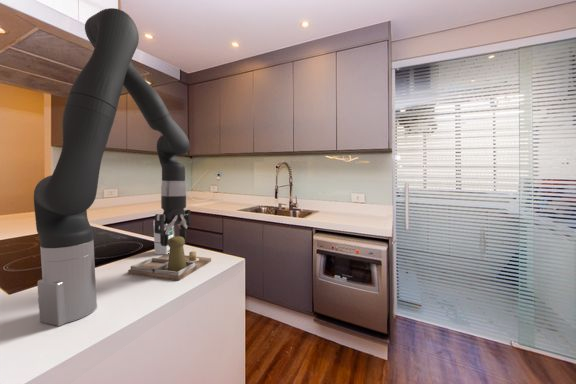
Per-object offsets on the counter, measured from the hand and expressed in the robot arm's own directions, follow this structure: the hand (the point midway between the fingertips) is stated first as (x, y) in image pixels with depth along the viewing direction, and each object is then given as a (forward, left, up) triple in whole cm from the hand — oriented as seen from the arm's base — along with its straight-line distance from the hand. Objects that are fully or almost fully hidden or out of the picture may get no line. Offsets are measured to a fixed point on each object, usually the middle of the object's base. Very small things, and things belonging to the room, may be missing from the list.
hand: (174, 242), depth 81 cm
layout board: (+4, +5, -11) cm, 12 cm away
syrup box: (+17, +20, -11) cm, 28 cm away
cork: (+1, 0, -10) cm, 10 cm away
